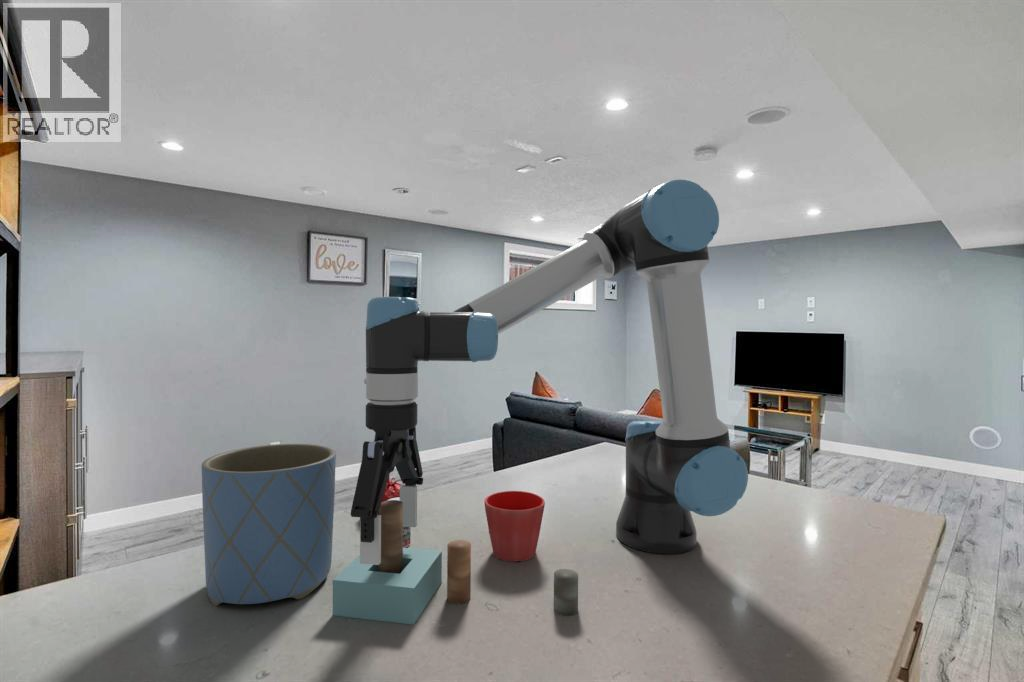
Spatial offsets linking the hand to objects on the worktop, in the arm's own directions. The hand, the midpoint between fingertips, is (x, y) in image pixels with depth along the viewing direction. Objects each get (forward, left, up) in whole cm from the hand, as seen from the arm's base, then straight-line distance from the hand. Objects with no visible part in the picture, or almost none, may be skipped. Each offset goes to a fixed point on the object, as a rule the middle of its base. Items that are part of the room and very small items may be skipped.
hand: (390, 543), depth 75 cm
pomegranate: (+14, -32, -8) cm, 36 cm away
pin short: (-26, -2, -8) cm, 27 cm away
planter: (+20, -1, -8) cm, 22 cm away
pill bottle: (+6, -18, -8) cm, 21 cm away
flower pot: (-16, -19, -8) cm, 26 cm away
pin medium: (-10, -2, -8) cm, 13 cm away
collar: (0, 0, -8) cm, 8 cm away
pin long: (0, 0, -8) cm, 8 cm away
